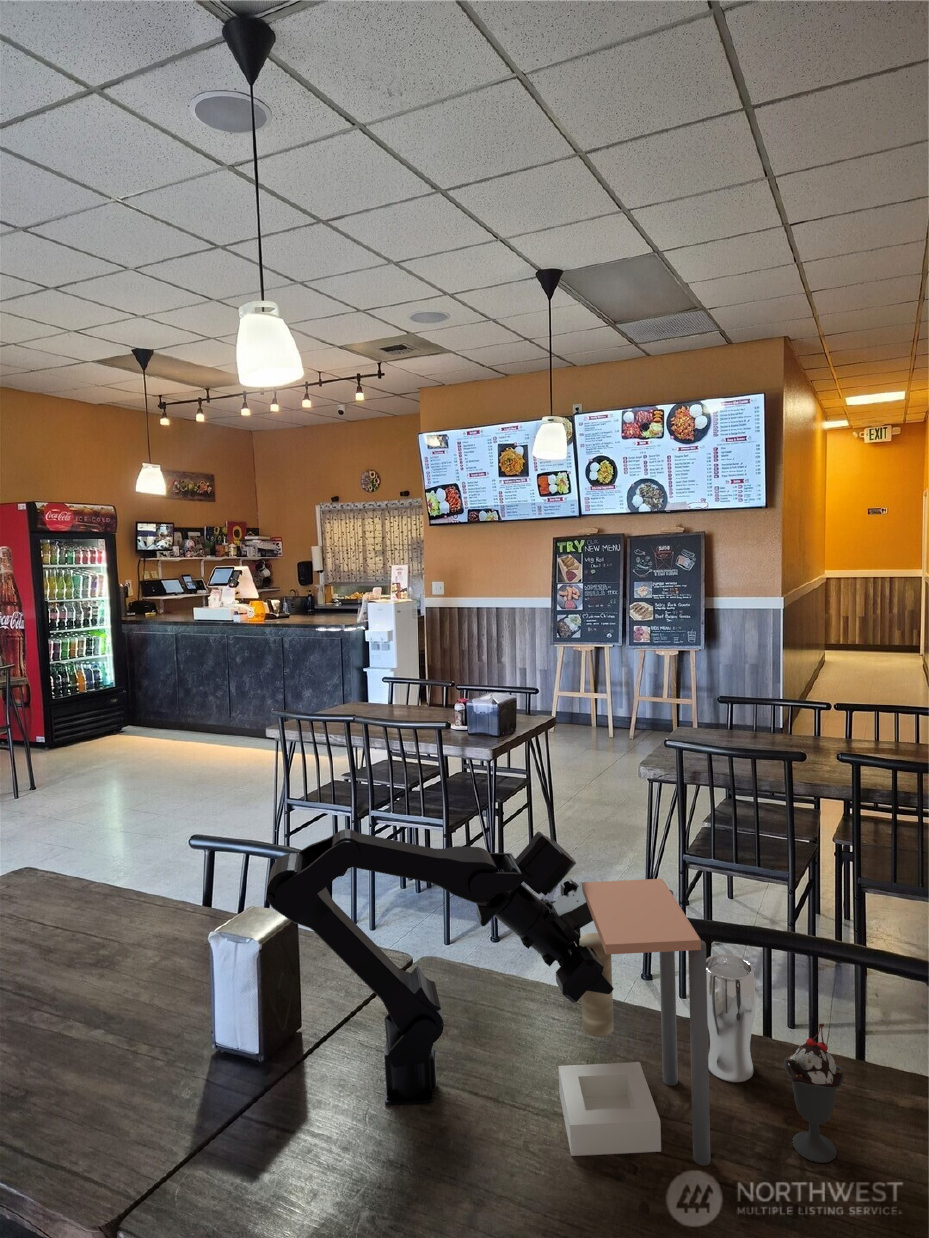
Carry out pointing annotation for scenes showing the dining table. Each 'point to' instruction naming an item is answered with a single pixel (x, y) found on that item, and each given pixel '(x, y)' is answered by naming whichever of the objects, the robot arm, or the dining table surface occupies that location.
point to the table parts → (618, 1092)
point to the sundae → (814, 1096)
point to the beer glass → (730, 1016)
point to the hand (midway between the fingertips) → (605, 981)
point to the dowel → (597, 994)
